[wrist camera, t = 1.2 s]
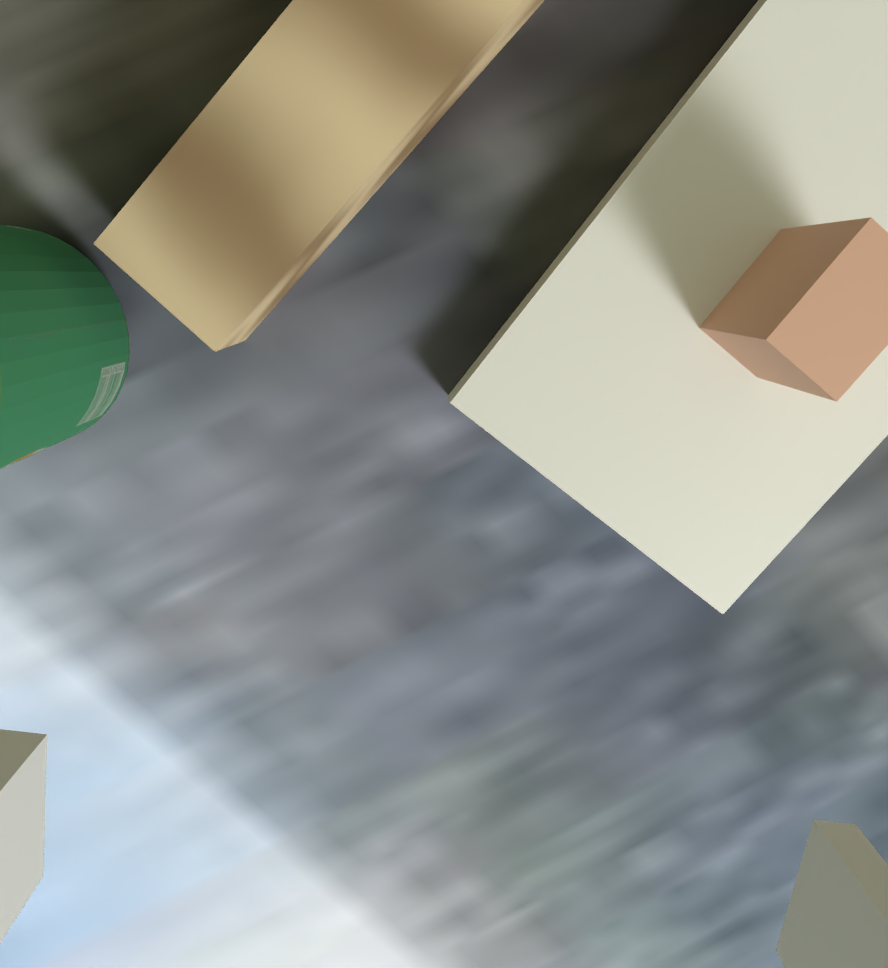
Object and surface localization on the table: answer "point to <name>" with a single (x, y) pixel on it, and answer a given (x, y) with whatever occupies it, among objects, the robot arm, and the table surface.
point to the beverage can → (54, 343)
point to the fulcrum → (719, 308)
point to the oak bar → (297, 150)
